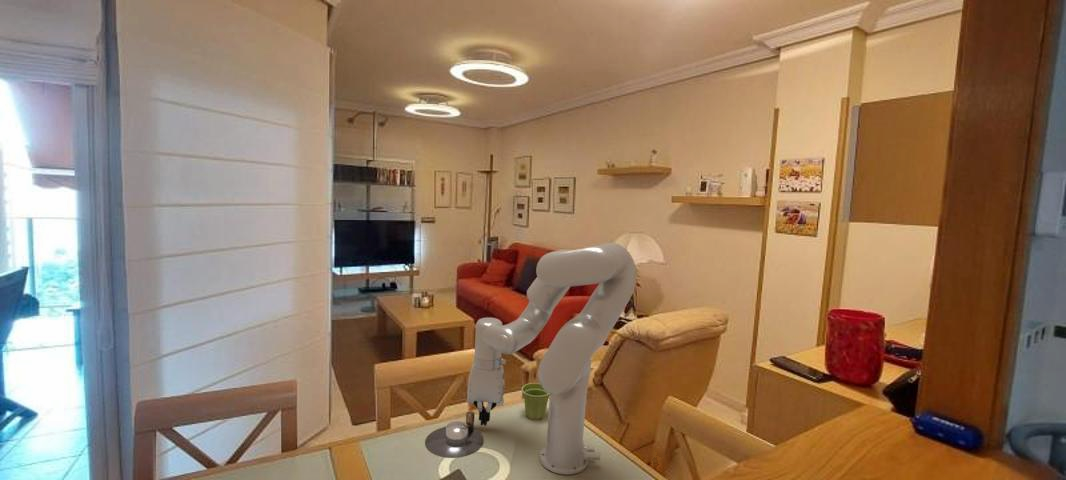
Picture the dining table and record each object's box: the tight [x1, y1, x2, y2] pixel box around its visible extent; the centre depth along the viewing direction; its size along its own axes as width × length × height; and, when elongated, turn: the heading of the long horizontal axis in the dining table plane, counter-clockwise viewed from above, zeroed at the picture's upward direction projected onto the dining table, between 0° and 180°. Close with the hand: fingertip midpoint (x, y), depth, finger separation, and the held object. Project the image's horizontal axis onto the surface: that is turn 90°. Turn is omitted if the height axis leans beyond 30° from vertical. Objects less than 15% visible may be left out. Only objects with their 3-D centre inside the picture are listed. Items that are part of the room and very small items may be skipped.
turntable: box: [424, 410, 485, 459], centre depth 125 cm, size 16×16×6 cm
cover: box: [445, 421, 468, 447], centre depth 125 cm, size 6×6×4 cm
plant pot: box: [521, 382, 550, 421], centre depth 144 cm, size 9×9×9 cm
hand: (484, 422), depth 131 cm, fingers closed
